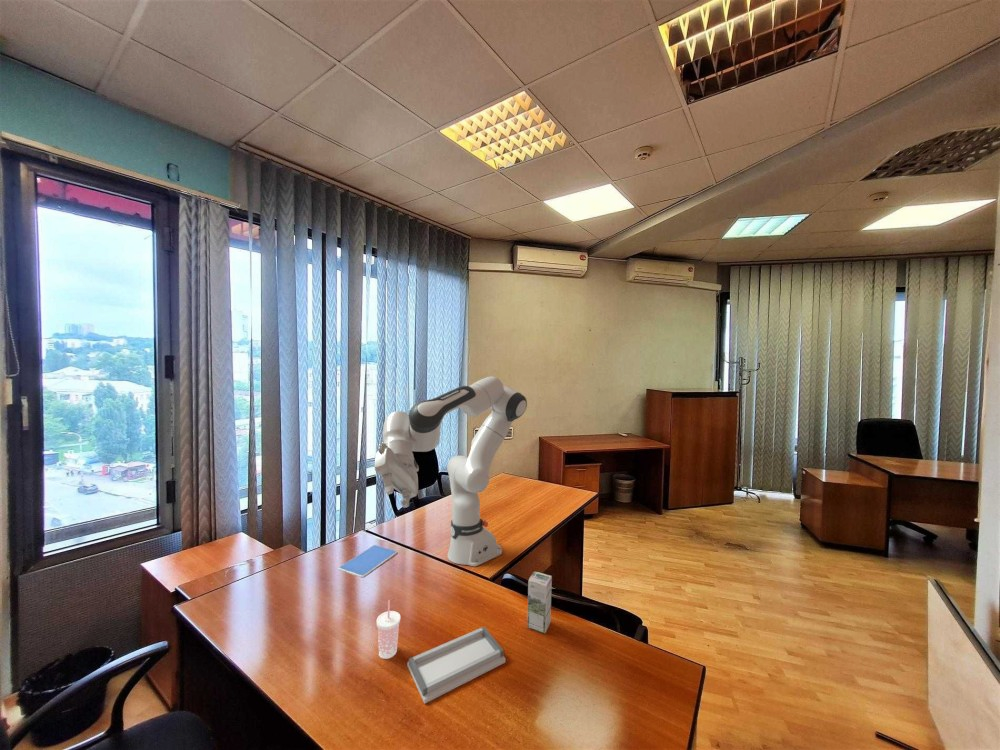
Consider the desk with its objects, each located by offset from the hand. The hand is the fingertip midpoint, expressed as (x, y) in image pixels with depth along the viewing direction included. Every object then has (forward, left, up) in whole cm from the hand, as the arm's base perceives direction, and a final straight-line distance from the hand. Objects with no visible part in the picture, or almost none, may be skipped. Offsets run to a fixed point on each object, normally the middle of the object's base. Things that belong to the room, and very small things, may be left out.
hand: (397, 499), depth 99 cm
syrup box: (-38, +16, -39) cm, 57 cm away
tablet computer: (-3, -45, -40) cm, 60 cm away
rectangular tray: (-11, +16, -39) cm, 44 cm away
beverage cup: (+3, +3, -39) cm, 40 cm away
